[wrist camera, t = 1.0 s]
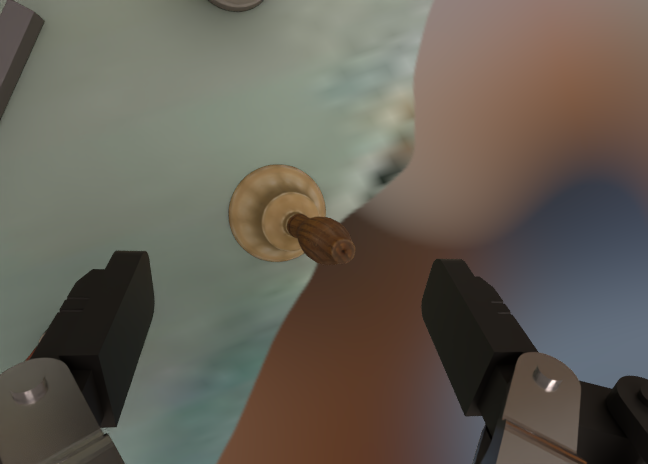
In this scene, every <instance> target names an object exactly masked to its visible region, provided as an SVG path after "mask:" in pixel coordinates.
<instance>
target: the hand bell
mask: <svg viewBox="0 0 648 464" xmlns="http://www.w3.org/2000/svg"><path fill="white" fill-rule="evenodd" d="M325 216H326V209H325V202H324V198H323V195H322V193H321V191H320V189H319V187H318V186H317V184H316V183H315V182H314V180H313V179H312V178H311V177H310V176H308V175H307V174H306V173H304V172H303V171H301V170H299V169H297V168H295V167H291V166H287V165H268V166H264V167H261V168H259V169H257V170H255V171H253V172H251V173H250V174H248V175H247V176H246V177H245V178H244V179H243V180H242V181H241V182H240V183H239V185H238V186H237V188H236V189H235V191H234V193H233V195H232V198H231V201H230V205H229V222H230V227H231V230H232V233H233V235H234V237H235V239H236V240H237V242H238V243H239V244H240V246H241V247H242V248H243V249H244V250H246V251H247V252H248V253H250V254H251V255H253V256H255V257H257V258H259V259H262V260H266V261H271V262H282V261H288V260H291V259H294V258H296V257H299V256H300V255H302V254H304V253H305V254H306V255H307V256H308V257H309V258H311V259H312V260H314V261H315V262H317V263H320V264H324V265H335V264H345V263H348V262H349V261H350V260H351V259H352V258H353V257H354V254H355V246H354V244H353V243H352V241H351V238H350V235H349V233H348V232H347V230H346V229H345V228H344V227H343V225H341V224H340V223H339V222H337V221H335V220H333V219H331V218H327V217H325Z"/></svg>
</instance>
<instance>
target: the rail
mask: <svg viewBox="0 0 648 464" xmlns="http://www.w3.org/2000/svg"><path fill="white" fill-rule="evenodd" d="M43 23H44V20H43V19H42V18H41V17H40V16H39V15H37V14H36V13H35V12H34V11H32V10H30V9H28V8H26V7H24V6H23V5H21V4H19V3H17V2H15V1H13V0H7V2H6V4H5V6H4V8H3V11H2V13H1V15H0V119H1V117H2V115H3V113H4V110H5V108H6V106H7V104H8V101H9V99H10V97H11V95H12V93H13V90H14V88H15V86H16V84H17V81H18V79H19V77H20V75H21V72H22V70H23V68H24V66H25V64H26V61H27V59H28V57H29V55H30V52H31V50H32V48H33V46H34V44H35V41H36V39H37V37H38V35H39V32H40V30H41V28H42V26H43Z"/></svg>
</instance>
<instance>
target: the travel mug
mask: <svg viewBox="0 0 648 464" xmlns="http://www.w3.org/2000/svg"><path fill="white" fill-rule="evenodd" d="M209 1H210V2H211V3H212V4H214V5H216V6H218V7H220V8H222V9H225V10H228V11H236V12H237V11H246V10H249V9H252V8H254V7H256V6H257V5H259V4H260V3H261V2H262V1H263V0H209Z"/></svg>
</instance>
